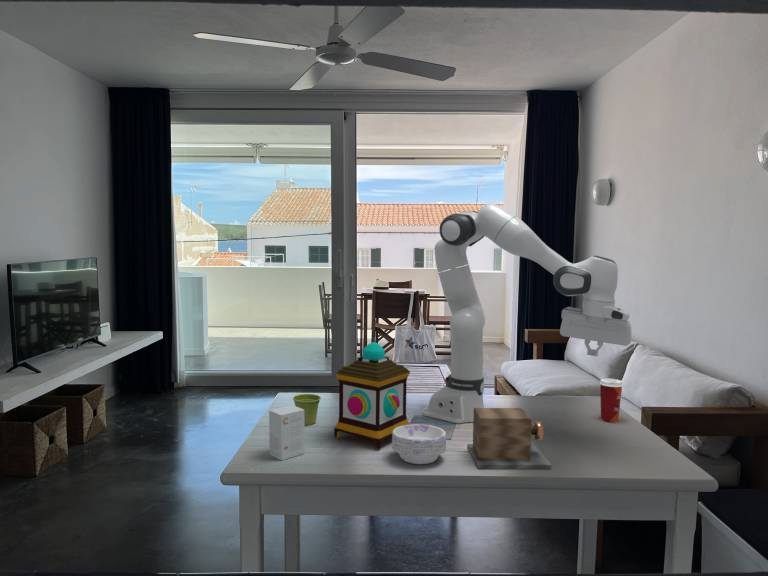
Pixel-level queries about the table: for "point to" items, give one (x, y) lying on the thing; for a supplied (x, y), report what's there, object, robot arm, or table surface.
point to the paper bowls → (419, 443)
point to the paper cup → (610, 399)
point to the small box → (286, 432)
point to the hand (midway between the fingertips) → (592, 355)
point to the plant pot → (308, 406)
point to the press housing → (504, 440)
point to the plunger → (537, 430)
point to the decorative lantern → (372, 396)
